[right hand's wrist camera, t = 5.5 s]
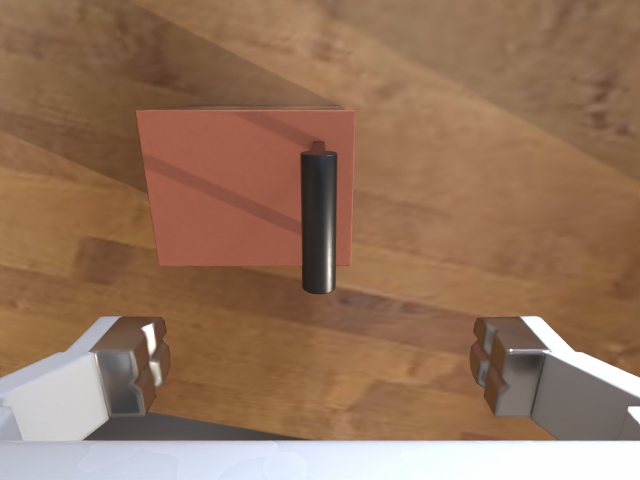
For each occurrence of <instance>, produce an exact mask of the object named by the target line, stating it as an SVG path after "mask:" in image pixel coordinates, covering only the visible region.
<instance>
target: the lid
mask: <svg viewBox="0 0 640 480" xmlns="http://www.w3.org/2000/svg"><path fill="white" fill-rule="evenodd" d="M136 118H137V124H138V131H139V137H140V144H141V151H142V157H143V164H144V170H145V177H146V183H147V190H148V196H149V203H150V209H151V216H152V222H153V229H154V236H155V242H156V249H157V255H158V262H159V266H302V286H303V289H304V290H305V291H307V292H309V293H312V294H326V293H329V292H331V291H333V290H334V289H335V284H336V266H351V243H352V210H353V176H354V143H355V111H354V110H137V111H136Z"/></svg>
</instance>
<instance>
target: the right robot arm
mask: <svg viewBox="0 0 640 480" xmlns="http://www.w3.org/2000/svg"><path fill="white" fill-rule="evenodd" d="M166 332H167V331H166V326H165V321H164V320H163V319H162V318H161V317H129V316H124V317H122V316H105V317H100V318H99V319H98V320H97V321H96V322H95V323H94V324H93V325H92V326H91V327H90V328H89V329H88V330H87V331H86V332H85V333H84V334H83V335H82V336H81V337H80V338H79V339H78V340H77V341H76V342H75V343H74V344H73V345H72V346H71V347H70V348H69V349H68V350H67V351H66V352H58V353H56V354H53V355H51V356H49V357H47V358H44V359H42V360H40V361H38V362H35V363H33V364H31V365H29V366H26V367H24V368H22V369H20V370H17V371H15V372H13V373H10V374H8V375H6V376H4V377H1V378H0V480H640V378H638V377H636V376H634V375H632V374H629V373H627V372H625V371H623V370H620V369H618V368H616V367H614V366H611V365H609V364H607V363H605V362H602V361H600V360H598V359H596V358H593V357H591V356H589V355H587V354H584V353H582V352H574V351H573V350H572V349H571V348H570V347H569V346H568V345H567V344H566V343H565V342H564V341H563V340H562V339H561V338H560V337H559V336H558V335H557V334H556V333H555V332H554V331H553V330H552V329H551V328H550V327H549V326H548V325H547V324H546V323H545V322H544V321H543V320H542V319H541V318H540V317H537V316H522V317H483V318H477V320H476V322H475V325H474V331H473V332H474V334H475V335H476V337H477V339H478V340H477V341H476V342H475V343H474V344H473V345H472V346H471V351H470V366H471V371H472V374H473V377H474V379H475V381H476V383H477V384H478V385H480V386H481V387H483V388H485V392H484V398H485V399H486V401H487V403H488V405H489V407H490V408H491V410H492V412H493V414H494V416H496V417H531V419H532V420H533V421H534V422H535V423H537V424H538V425H539V426H540V427H542V428H543V429H544V430H546V431H547V432H548V433H549V434H551V435H552V436H553V437H555V438H556V439H557V440H558V441H82V440H83V439H84V438H86V437H87V436H88V435H89V434H91V433H92V432H93V431H95V430H96V429H97V428H98V427H100V426H101V425H102V424H103V423H105V422H106V421H107V420H108V419H109V417H142V416H146V414H147V412H148V410H149V408H150V407H151V405H152V403H153V401H154V399H155V398H156V392H155V388H157V387H159V386H160V385H162V384H163V383H164V381H165V379H166V377H167V375H168V370H169V366H170V350H169V346H168V345H167V344H166V343H165V342H164V341H163V340H162V339H163V337H164V335H165V334H166Z"/></svg>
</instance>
